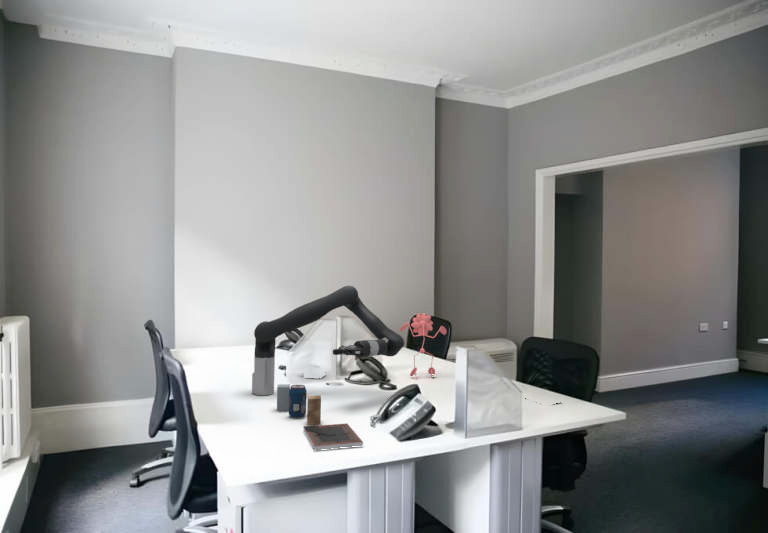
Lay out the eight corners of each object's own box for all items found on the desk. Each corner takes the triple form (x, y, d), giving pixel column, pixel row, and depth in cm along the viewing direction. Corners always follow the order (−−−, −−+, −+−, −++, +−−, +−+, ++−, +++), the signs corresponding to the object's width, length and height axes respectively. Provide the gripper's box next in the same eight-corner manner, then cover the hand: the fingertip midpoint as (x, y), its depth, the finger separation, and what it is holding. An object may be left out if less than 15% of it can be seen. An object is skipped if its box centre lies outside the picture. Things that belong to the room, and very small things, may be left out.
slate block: (276, 411, 222) (277, 387, 222) (277, 408, 227) (277, 384, 227) (289, 411, 223) (289, 387, 223) (289, 408, 228) (289, 384, 228)
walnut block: (307, 425, 205) (307, 398, 205) (307, 421, 210) (307, 395, 210) (320, 424, 206) (321, 398, 206) (320, 421, 211) (320, 395, 210)
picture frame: (303, 433, 198) (314, 453, 177) (303, 426, 198) (314, 445, 177) (347, 429, 203) (362, 448, 182) (347, 422, 203) (363, 441, 182)
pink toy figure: (448, 379, 291) (448, 314, 291) (401, 380, 286) (402, 314, 286) (439, 373, 306) (440, 311, 306) (394, 375, 301) (395, 312, 301)
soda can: (290, 413, 220) (290, 384, 220) (307, 413, 220) (307, 384, 220) (287, 418, 213) (287, 388, 213) (304, 418, 213) (305, 388, 213)
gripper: (357, 338, 244) (325, 341, 232) (375, 342, 233) (343, 345, 222) (356, 354, 244) (324, 358, 232) (375, 359, 234) (343, 363, 222)
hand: (333, 352), depth 227 cm, fingers closed
